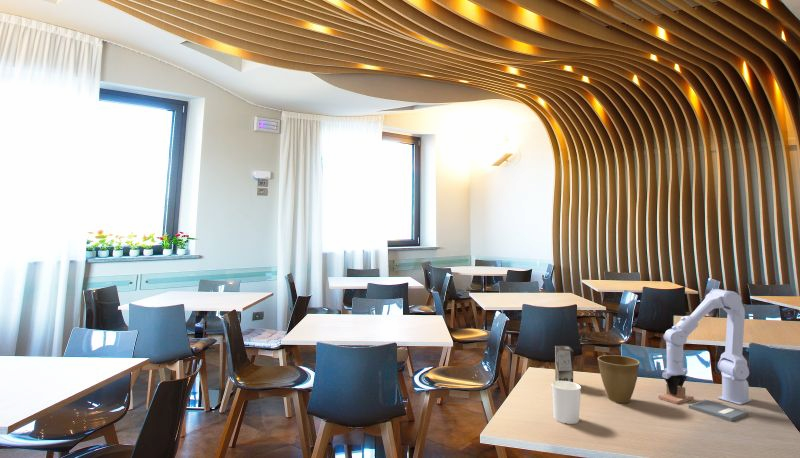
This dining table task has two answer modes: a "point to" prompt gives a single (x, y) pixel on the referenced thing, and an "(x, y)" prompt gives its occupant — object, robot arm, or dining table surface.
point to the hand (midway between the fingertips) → (675, 393)
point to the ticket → (718, 410)
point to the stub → (676, 396)
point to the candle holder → (566, 401)
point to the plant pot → (618, 376)
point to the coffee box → (563, 363)
